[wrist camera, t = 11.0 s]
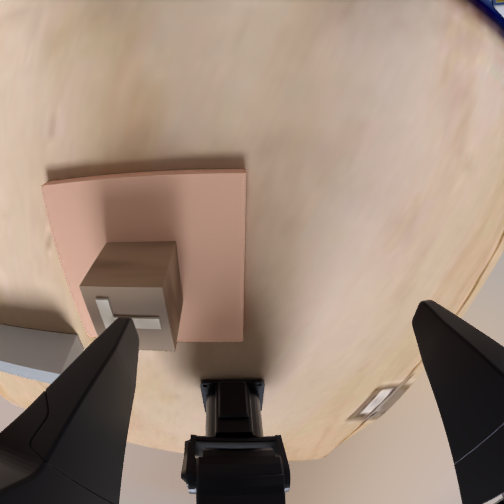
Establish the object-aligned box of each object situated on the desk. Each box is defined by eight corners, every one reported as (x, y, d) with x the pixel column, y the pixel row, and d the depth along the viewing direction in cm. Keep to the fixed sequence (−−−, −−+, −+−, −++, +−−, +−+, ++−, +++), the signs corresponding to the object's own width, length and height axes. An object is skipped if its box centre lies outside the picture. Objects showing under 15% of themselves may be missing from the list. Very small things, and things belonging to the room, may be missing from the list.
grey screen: (83, 348, 26) (69, 387, 21) (-6, 334, 25) (-24, 363, 20) (77, 334, 25) (60, 374, 20) (-13, 321, 24) (-32, 351, 19)
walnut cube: (183, 300, 22) (175, 353, 18) (121, 299, 22) (102, 348, 17) (175, 241, 19) (161, 289, 15) (106, 242, 19) (78, 287, 15)
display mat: (242, 333, 25) (243, 341, 25) (91, 328, 24) (88, 336, 24) (245, 169, 18) (246, 173, 17) (48, 181, 17) (41, 186, 16)
